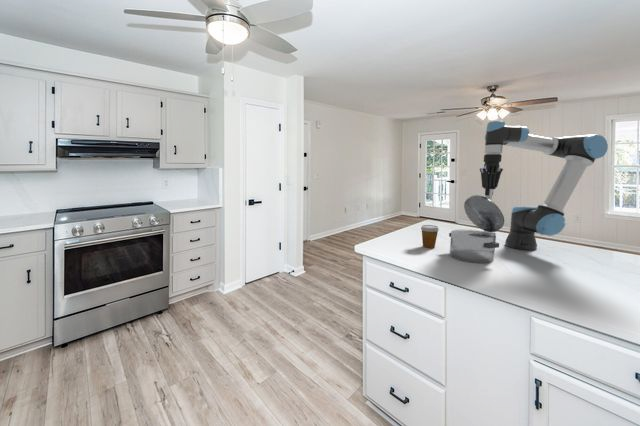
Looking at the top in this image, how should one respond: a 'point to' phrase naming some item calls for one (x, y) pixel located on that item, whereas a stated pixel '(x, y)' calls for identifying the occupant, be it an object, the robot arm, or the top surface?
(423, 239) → the disposable coffee cup
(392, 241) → the top surface
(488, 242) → the cooker pot
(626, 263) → the top surface
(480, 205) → the pot lid
